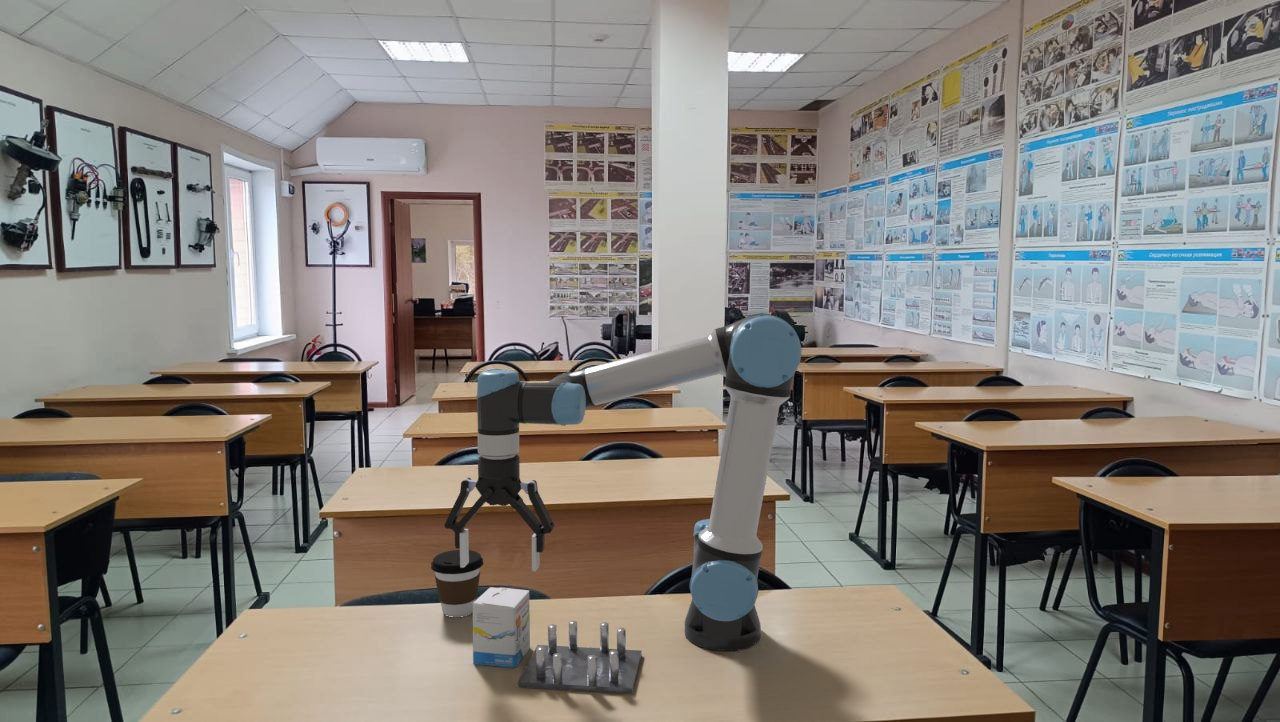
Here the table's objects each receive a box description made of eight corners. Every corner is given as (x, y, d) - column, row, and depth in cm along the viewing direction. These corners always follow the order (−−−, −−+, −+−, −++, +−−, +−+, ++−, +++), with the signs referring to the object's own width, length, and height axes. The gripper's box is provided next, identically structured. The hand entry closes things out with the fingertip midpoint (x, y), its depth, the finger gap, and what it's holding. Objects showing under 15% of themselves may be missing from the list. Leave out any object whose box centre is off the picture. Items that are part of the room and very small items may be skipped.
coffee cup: (467, 626, 160) (466, 569, 159) (421, 618, 164) (419, 563, 162) (494, 605, 170) (492, 552, 169) (450, 599, 174) (449, 546, 173)
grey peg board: (641, 654, 148) (641, 624, 147) (631, 695, 133) (631, 661, 133) (538, 648, 150) (537, 618, 150) (517, 688, 136) (516, 655, 135)
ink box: (515, 669, 142) (514, 607, 141) (472, 664, 144) (470, 603, 143) (531, 647, 151) (530, 588, 150) (490, 643, 153) (489, 585, 151)
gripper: (569, 452, 146) (569, 562, 148) (440, 448, 149) (442, 556, 151) (561, 461, 139) (561, 577, 141) (425, 456, 141) (427, 570, 144)
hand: (499, 567), depth 146 cm, fingers open, 13 cm apart
